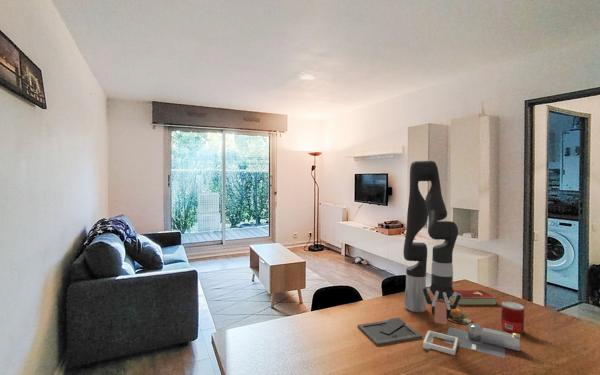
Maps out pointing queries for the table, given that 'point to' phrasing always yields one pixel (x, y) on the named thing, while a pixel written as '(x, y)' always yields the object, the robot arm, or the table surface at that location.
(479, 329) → the crank
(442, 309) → the block
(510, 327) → the canned food
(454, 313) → the burger
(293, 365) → the table surface
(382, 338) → the picture frame
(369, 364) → the table surface
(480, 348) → the crank plate
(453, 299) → the hardcover book
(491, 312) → the table surface
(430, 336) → the tray
